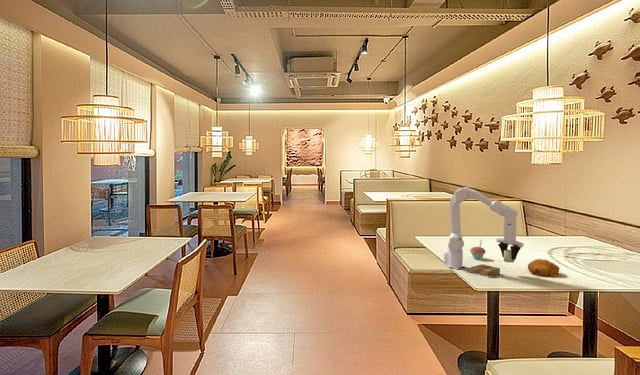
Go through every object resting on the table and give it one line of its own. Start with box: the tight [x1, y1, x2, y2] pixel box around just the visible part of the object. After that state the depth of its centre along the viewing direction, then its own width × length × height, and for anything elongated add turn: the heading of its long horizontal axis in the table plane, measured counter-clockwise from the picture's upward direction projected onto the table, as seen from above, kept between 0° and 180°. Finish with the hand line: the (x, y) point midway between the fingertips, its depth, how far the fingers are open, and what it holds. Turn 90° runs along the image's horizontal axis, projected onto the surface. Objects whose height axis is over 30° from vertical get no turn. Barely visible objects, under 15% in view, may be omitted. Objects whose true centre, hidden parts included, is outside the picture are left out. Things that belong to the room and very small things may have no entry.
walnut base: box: [470, 263, 501, 278], centre depth 217 cm, size 10×10×3 cm
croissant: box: [527, 258, 560, 278], centre depth 217 cm, size 14×16×8 cm
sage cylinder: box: [503, 249, 515, 264], centre depth 214 cm, size 5×5×6 cm
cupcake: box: [469, 238, 486, 260], centre depth 247 cm, size 9×8×12 cm
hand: (509, 258), depth 214 cm, fingers closed on sage cylinder, 5 cm apart
